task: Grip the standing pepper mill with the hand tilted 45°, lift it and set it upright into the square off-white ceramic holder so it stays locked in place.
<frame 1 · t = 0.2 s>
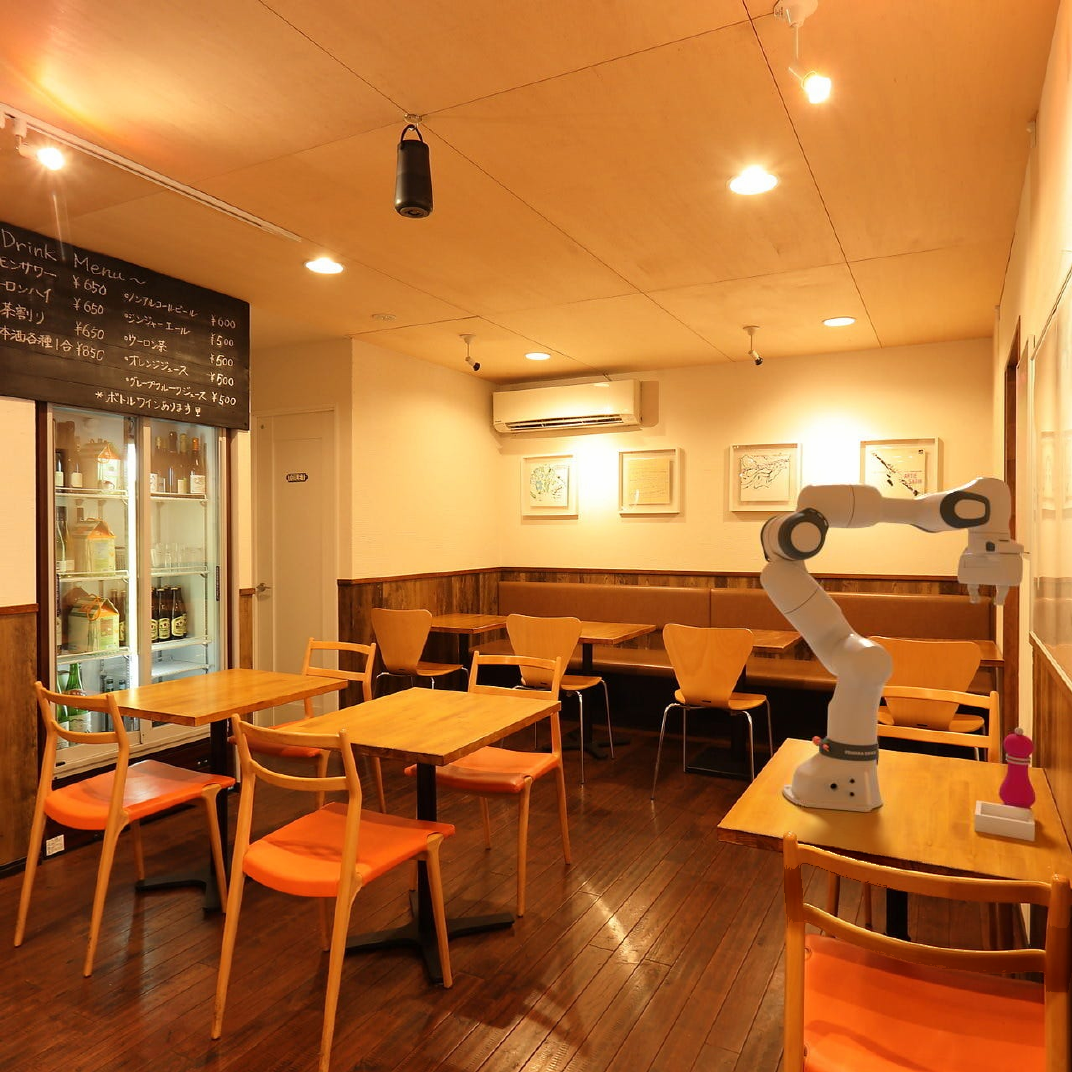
hand: (986, 604, 194), 47 cm above the table, tool pointing down, fingers open, 8 cm apart
pepper mill: (1016, 815, 186), on the table
mill holder: (1004, 828, 177), on the table
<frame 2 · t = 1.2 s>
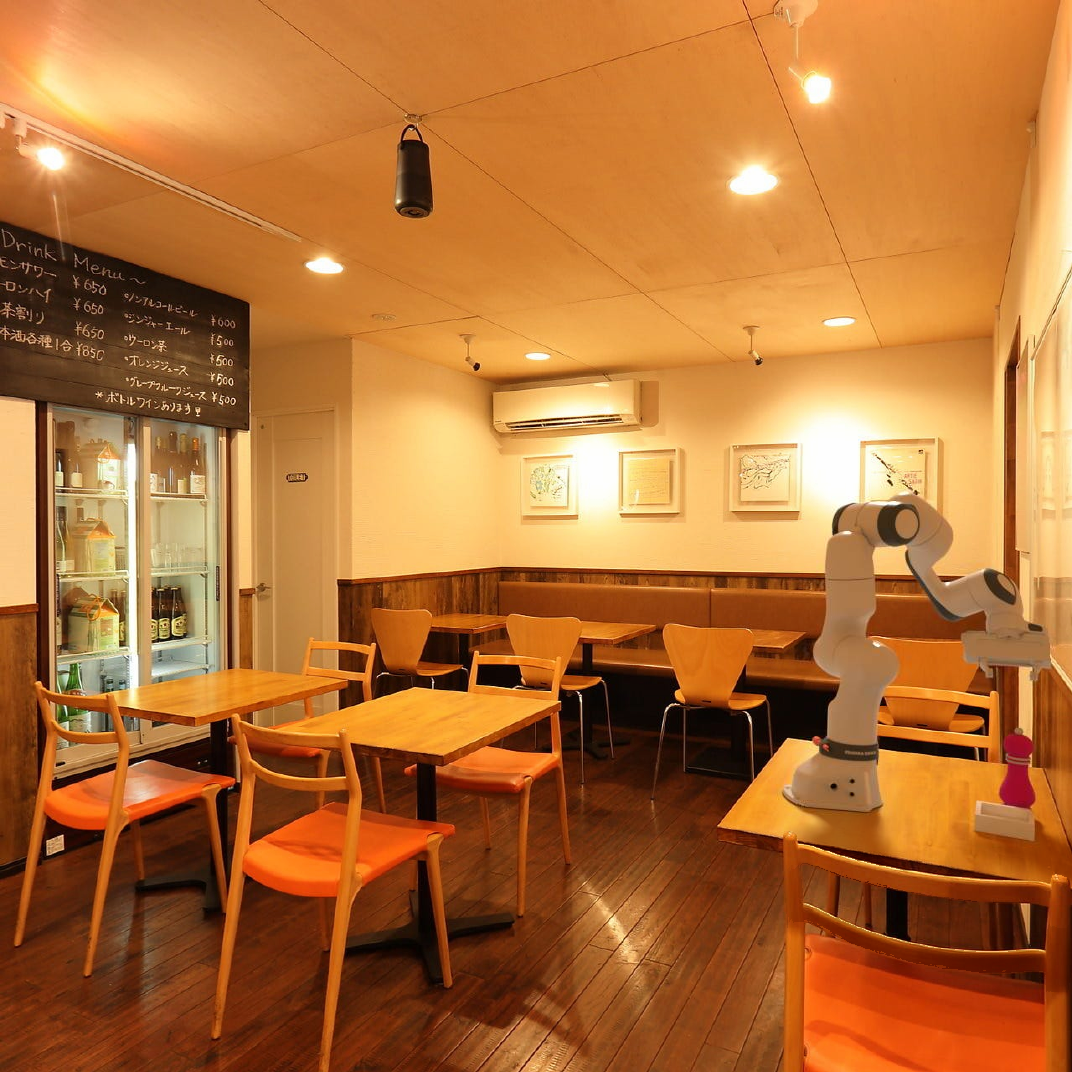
hand: (1011, 677, 198), 29 cm above the table, tool tilted 45°, fingers open, 8 cm apart
nothing on the table moved.
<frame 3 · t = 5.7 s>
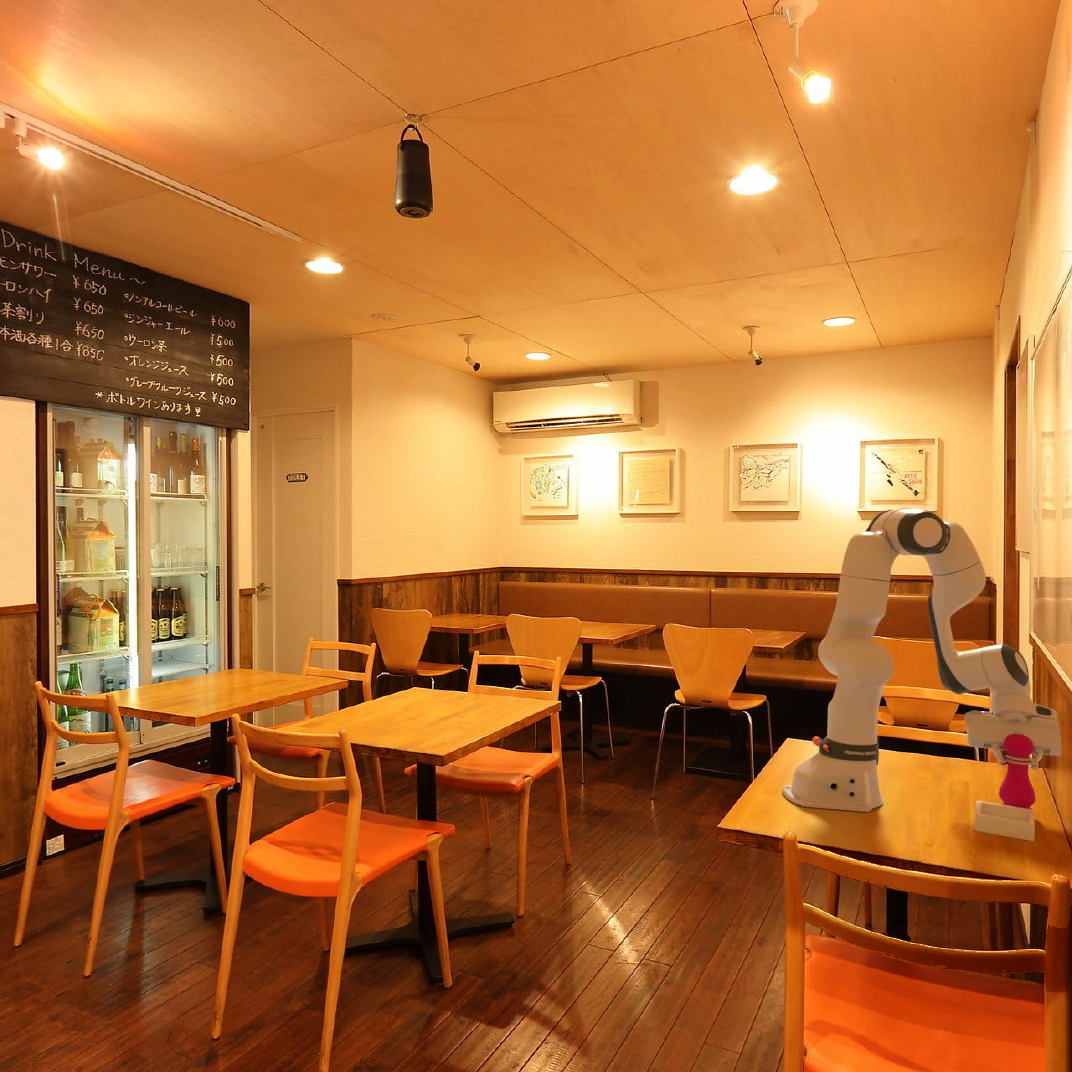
hand: (1018, 765, 186), 11 cm above the table, tool tilted 45°, fingers closed on pepper mill, 5 cm apart
pepper mill: (1016, 815, 186), on the table, touching gripper
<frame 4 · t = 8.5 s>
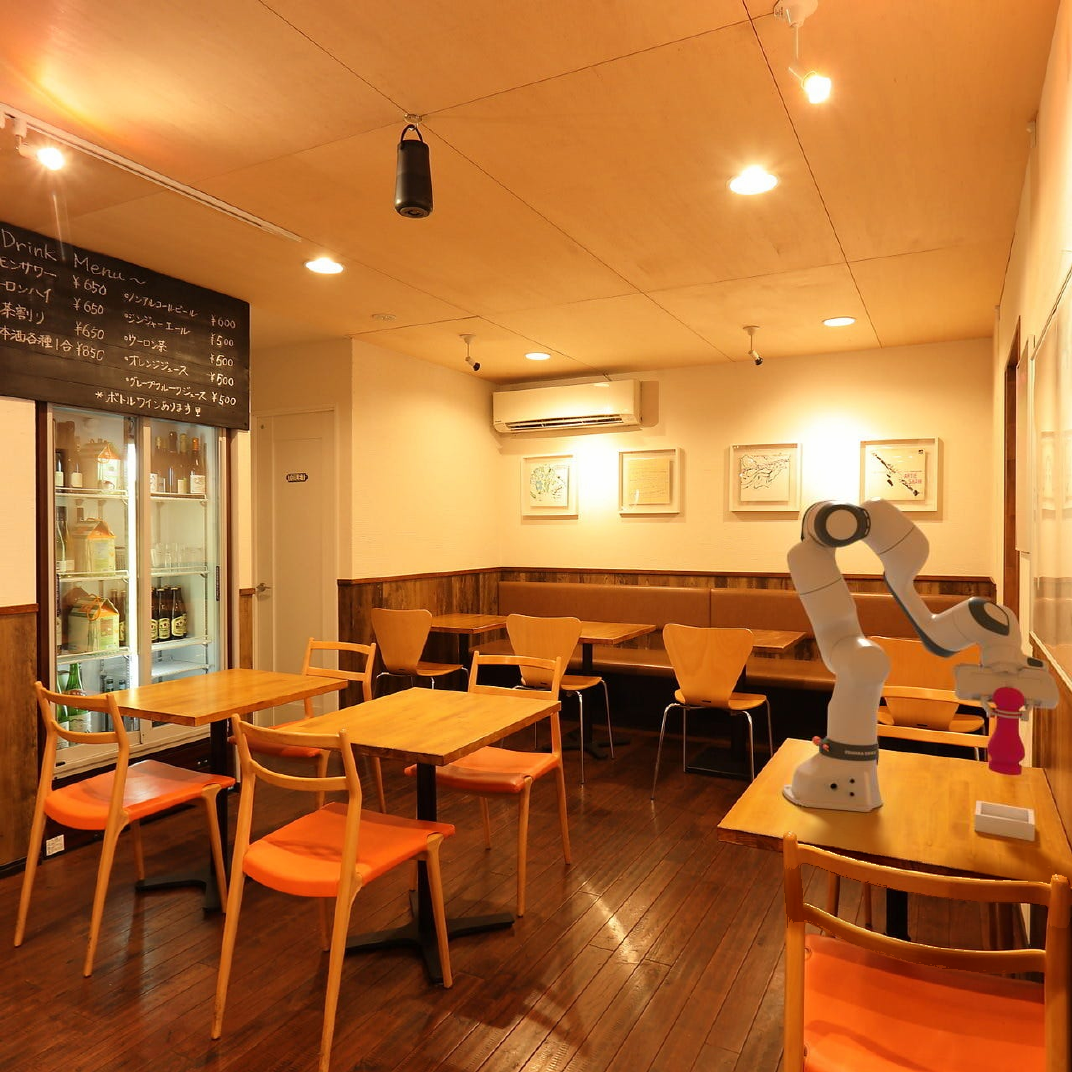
hand: (1008, 718, 178), 24 cm above the table, tool tilted 45°, fingers closed on pepper mill, 5 cm apart
pepper mill: (1004, 772, 179), point 12 cm above the table, touching gripper
when the fingers open (14 cm above the table, at t = 11.6 s): pepper mill stays where it is, resting on mill holder.
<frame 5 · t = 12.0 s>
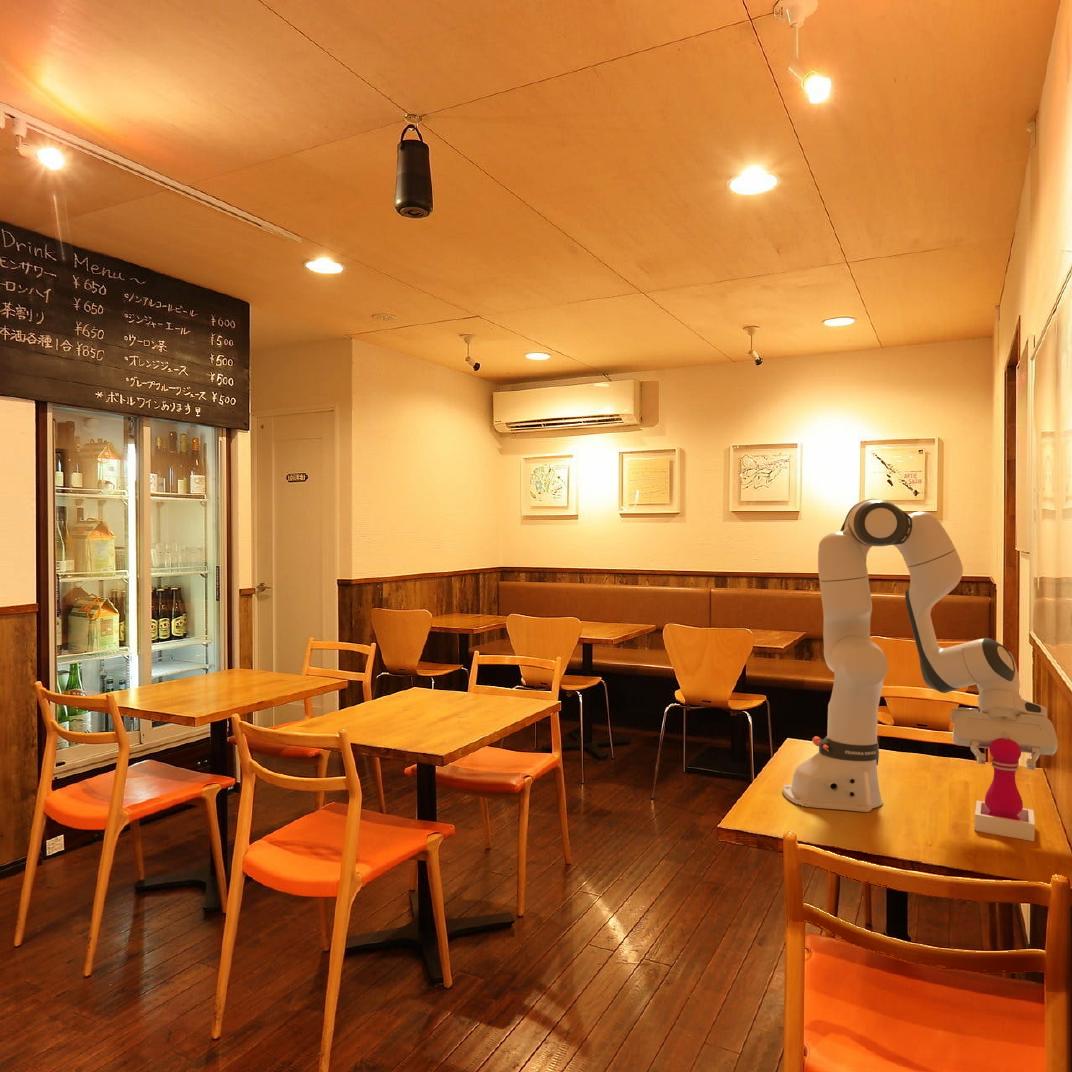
hand: (1006, 765, 177), 14 cm above the table, tool tilted 45°, fingers open, 8 cm apart
pepper mill: (1003, 824, 178), point 1 cm above the table, touching mill holder
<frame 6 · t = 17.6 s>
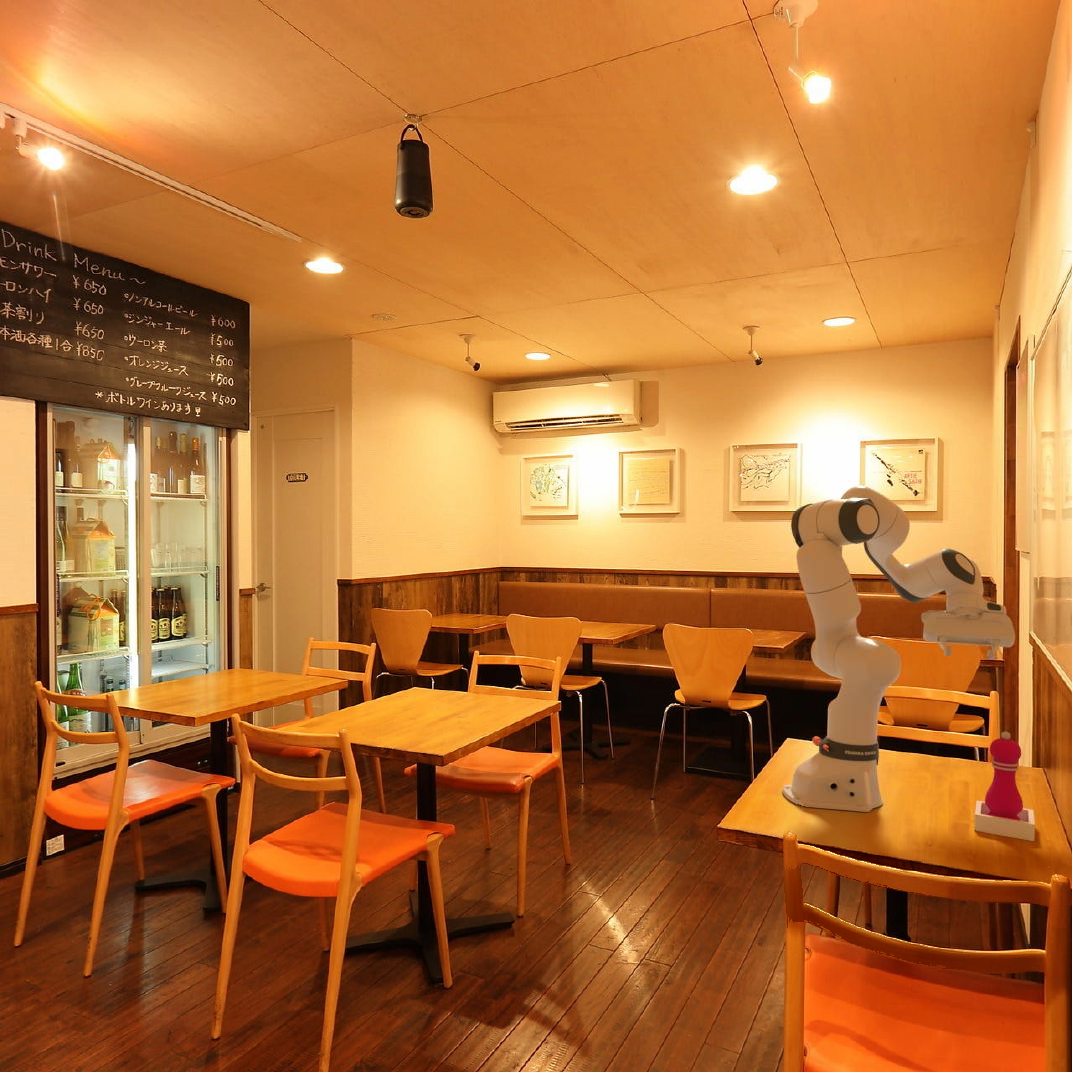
hand: (969, 655, 199), 34 cm above the table, tool tilted 45°, fingers open, 8 cm apart
nothing on the table moved.
at the end: pepper mill 0.1 cm off-centre on the mill holder, point 0.8 cm above the mill holder's base; pepper mill tilted 0°; the gripper is holding nothing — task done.
